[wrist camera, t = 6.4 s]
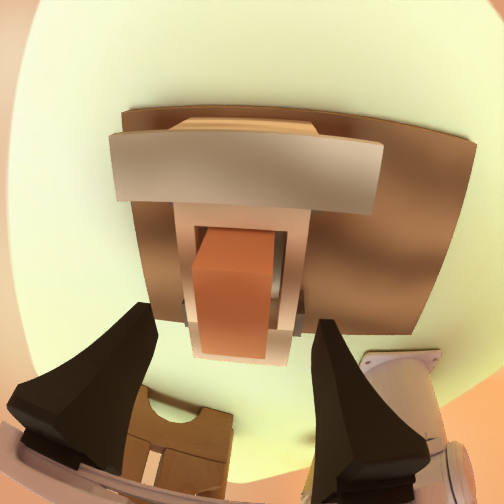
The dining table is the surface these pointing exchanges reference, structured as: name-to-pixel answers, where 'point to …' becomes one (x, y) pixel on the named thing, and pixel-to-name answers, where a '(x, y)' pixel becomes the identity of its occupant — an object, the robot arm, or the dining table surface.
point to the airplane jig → (294, 211)
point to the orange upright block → (234, 291)
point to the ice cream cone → (308, 486)
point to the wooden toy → (179, 450)
